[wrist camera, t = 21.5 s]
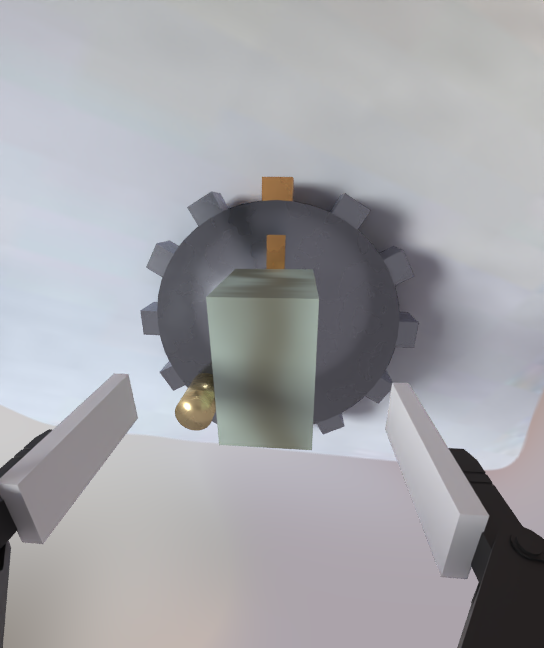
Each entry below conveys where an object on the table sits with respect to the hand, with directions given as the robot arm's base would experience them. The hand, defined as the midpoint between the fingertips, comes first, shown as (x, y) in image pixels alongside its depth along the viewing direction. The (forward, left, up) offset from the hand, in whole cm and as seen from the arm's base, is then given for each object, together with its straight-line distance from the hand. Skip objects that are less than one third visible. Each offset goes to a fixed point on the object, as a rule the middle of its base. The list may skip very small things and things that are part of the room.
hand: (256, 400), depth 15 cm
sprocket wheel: (0, 0, -15) cm, 15 cm away
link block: (0, 0, -11) cm, 11 cm away
